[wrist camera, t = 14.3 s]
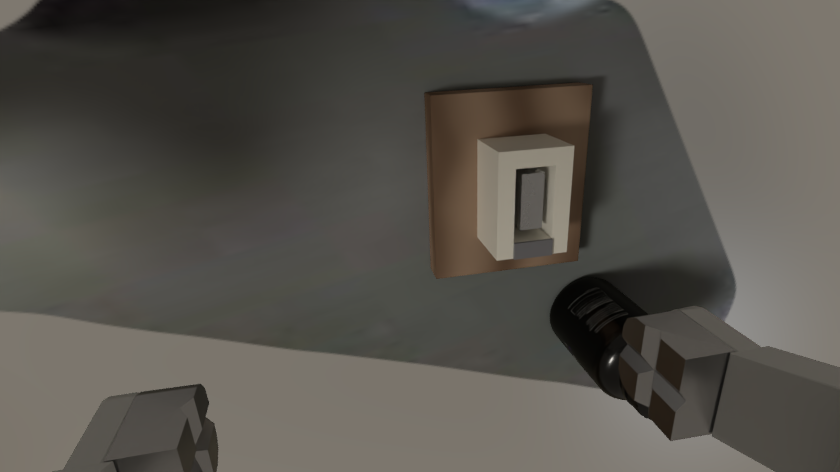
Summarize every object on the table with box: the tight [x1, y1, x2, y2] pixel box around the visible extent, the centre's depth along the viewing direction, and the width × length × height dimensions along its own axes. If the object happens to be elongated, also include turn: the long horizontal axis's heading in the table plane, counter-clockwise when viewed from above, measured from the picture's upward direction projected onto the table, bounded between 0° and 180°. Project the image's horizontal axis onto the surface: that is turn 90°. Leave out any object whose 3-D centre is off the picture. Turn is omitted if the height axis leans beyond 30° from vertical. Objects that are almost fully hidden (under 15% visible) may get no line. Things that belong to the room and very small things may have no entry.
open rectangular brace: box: [477, 134, 574, 261], centre depth 36 cm, size 8×5×5 cm
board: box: [425, 82, 593, 279], centre depth 39 cm, size 12×14×2 cm
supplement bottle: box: [550, 278, 651, 420], centre depth 41 cm, size 7×7×12 cm
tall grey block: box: [514, 167, 545, 230], centre depth 36 cm, size 2×4×4 cm, turn 2°
